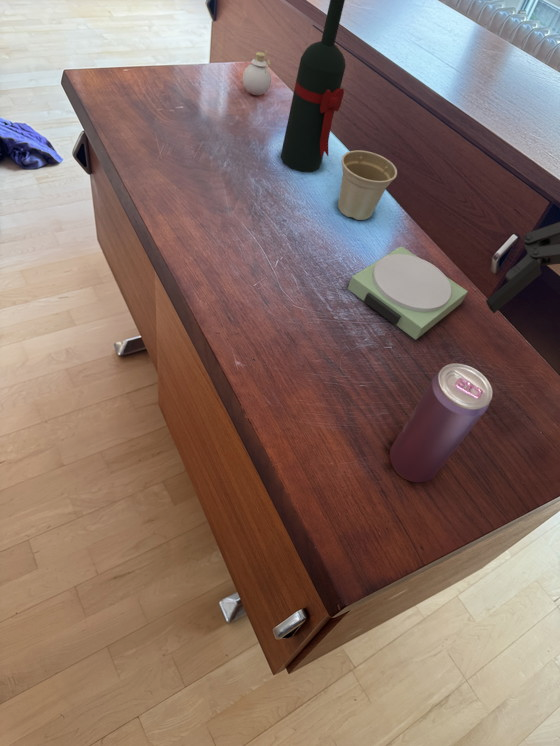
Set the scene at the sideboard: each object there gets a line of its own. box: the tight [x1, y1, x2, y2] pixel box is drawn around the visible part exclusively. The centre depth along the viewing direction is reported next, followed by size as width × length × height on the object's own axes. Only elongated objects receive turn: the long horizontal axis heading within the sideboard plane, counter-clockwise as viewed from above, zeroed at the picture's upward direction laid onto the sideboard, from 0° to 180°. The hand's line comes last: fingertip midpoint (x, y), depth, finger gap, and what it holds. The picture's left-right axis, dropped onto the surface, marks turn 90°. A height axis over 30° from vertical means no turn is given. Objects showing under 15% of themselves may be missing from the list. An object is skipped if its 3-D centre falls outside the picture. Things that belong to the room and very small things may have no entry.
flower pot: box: [337, 149, 398, 221], centre depth 96 cm, size 9×9×9 cm
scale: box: [347, 245, 469, 340], centre depth 86 cm, size 13×14×3 cm
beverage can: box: [389, 362, 494, 483], centre depth 62 cm, size 6×6×15 cm
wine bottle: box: [279, 0, 347, 173], centre depth 95 cm, size 8×10×30 cm
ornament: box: [242, 48, 272, 96], centre depth 117 cm, size 6×7×10 cm
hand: (533, 350), depth 60 cm, fingers open, 13 cm apart
